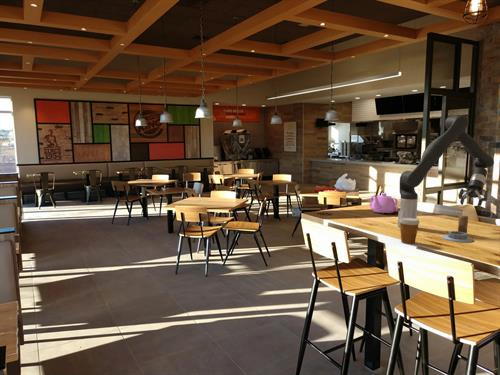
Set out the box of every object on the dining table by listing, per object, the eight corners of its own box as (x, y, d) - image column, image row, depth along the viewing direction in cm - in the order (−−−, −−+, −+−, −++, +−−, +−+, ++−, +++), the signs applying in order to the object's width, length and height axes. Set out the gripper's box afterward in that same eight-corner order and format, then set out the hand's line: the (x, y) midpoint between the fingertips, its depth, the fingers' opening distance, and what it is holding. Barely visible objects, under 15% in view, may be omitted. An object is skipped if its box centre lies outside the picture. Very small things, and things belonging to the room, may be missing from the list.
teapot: (359, 212, 279) (360, 193, 278) (375, 208, 294) (376, 190, 292) (388, 216, 263) (389, 196, 261) (403, 212, 277) (404, 193, 276)
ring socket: (451, 242, 194) (451, 236, 194) (437, 235, 208) (437, 230, 208) (478, 242, 194) (479, 236, 194) (462, 235, 208) (463, 230, 208)
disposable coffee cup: (418, 245, 187) (420, 221, 186) (397, 243, 191) (399, 219, 189) (418, 241, 196) (419, 217, 195) (398, 239, 199) (399, 216, 198)
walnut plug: (460, 235, 210) (461, 217, 209) (456, 233, 214) (457, 215, 213) (468, 235, 210) (469, 217, 209) (463, 233, 215) (465, 215, 213)
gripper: (462, 178, 229) (455, 199, 222) (490, 179, 219) (483, 202, 212) (464, 186, 233) (457, 207, 226) (491, 188, 223) (485, 210, 216)
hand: (470, 204), depth 219 cm, fingers open, 8 cm apart
